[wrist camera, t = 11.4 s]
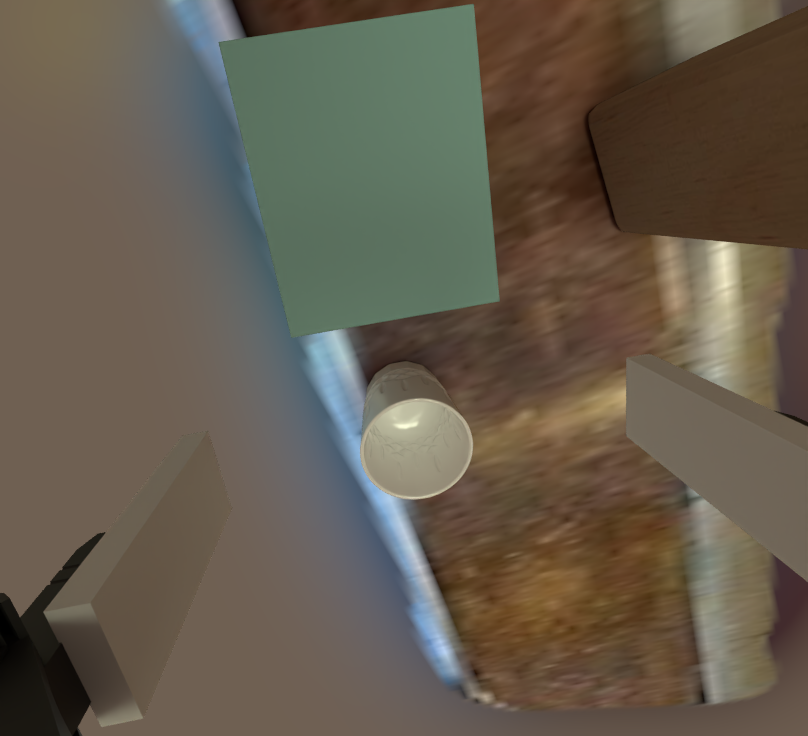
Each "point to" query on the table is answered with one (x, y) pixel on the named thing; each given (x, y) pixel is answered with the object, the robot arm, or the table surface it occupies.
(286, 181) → the lid
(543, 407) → the table surface
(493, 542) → the table surface
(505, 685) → the table surface
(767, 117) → the block
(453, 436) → the white cup
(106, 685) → the robot arm
